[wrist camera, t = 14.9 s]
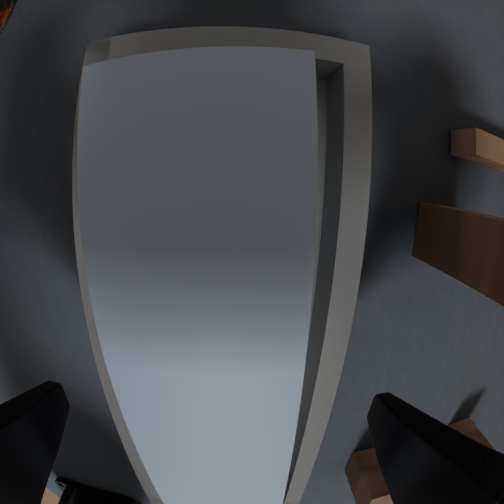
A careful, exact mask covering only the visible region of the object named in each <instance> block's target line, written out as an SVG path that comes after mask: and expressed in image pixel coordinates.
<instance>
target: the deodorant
mask: <svg viewBox="0 0 504 504" xmlns="http://www.w3.org/2000/svg"><path fill="white" fill-rule="evenodd" d="M15 3H16V0H0V32H1V31H2V29H3V28H4V26H5V24H6V22H7V20H8V18H9V17H10V15H11V13H12V10H13V8H14V5H15Z"/></svg>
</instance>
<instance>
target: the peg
mask: <svg viewBox="0 0 504 504" xmlns="http://www.w3.org/2000/svg"><path fill="white" fill-rule="evenodd" d="M317 175H318V126H317V87H316V65H315V51H310V50H301V49H290V48H277V47H254V46H222V47H199V48H185V49H175V50H166V51H158V52H150V53H144V54H137V55H132V56H126V57H121V58H116V59H111V60H106V61H102V62H98V63H94V64H90V65H86V66H83V73H82V81H81V90H80V100H79V113H78V130H77V191H78V209H79V222H80V233H81V242H82V250H83V258H84V265H85V272H86V278H87V284H88V290H89V295H90V301H91V306H92V310H93V315H94V320H95V324H96V328H97V333H98V337H99V341H100V345H101V349H102V352H103V356H104V359H105V363H106V366H107V370H108V373H109V376H110V380H111V383H112V386H113V389H114V392H115V395H116V398H117V401H118V404H119V406H120V409H121V412H122V415H123V417H124V420H125V423H126V425H127V428H128V430H129V433H130V435H131V437H132V440H133V442H134V445H135V447H136V449H137V451H138V454H139V456H140V458H141V460H142V462H143V465H144V467H145V469H146V471H147V473H148V475H149V477H150V479H151V481H152V483H153V485H154V487H155V489H156V491H157V492H158V494H159V496H160V498H161V500H162V502H163V503H164V504H283V500H284V496H285V491H286V486H287V481H288V475H289V470H290V465H291V459H292V453H293V448H294V442H295V435H296V429H297V423H298V416H299V409H300V402H301V395H302V387H303V379H304V371H305V363H306V354H307V344H308V335H309V324H310V313H311V301H312V288H313V274H314V258H315V239H316V216H317Z"/></svg>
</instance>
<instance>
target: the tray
mask: <svg viewBox="0 0 504 504" xmlns="http://www.w3.org/2000/svg"><path fill="white" fill-rule="evenodd" d="M222 46H254V47H277V48H290V49H301V50H310V51H315V65H316V87H317V126H318V175H317V216H316V239H315V258H314V274H313V288H312V301H311V313H310V324H309V335H308V344H307V354H306V363H305V371H304V379H303V387H302V395H301V402H300V409H299V416H298V423H297V429H296V435H295V442H294V448H293V453H292V459H291V465H290V470H289V475H288V481H287V486H286V491H285V496H284V500H283V504H299V502H300V500H301V497H302V495H303V492H304V490H305V487H306V484H307V482H308V479H309V477H310V474H311V471H312V468H313V466H314V463H315V460H316V457H317V454H318V451H319V448H320V445H321V442H322V439H323V436H324V433H325V430H326V427H327V423H328V420H329V417H330V413H331V410H332V406H333V403H334V399H335V395H336V392H337V388H338V384H339V380H340V376H341V372H342V368H343V364H344V360H345V355H346V351H347V346H348V342H349V337H350V332H351V327H352V322H353V317H354V312H355V306H356V300H357V295H358V288H359V282H360V276H361V269H362V262H363V254H364V246H365V238H366V229H367V219H368V208H369V195H370V180H371V160H372V81H371V62H370V48H369V45H365V44H361V43H357V42H353V41H349V40H344V39H340V38H335V37H330V36H324V35H318V34H312V33H306V32H299V31H291V30H282V29H272V28H259V27H237V26H204V27H183V28H170V29H160V30H151V31H144V32H137V33H130V34H124V35H119V36H114V37H109V38H104V39H99V40H95V41H91V42H87V46H86V50H85V55H84V60H83V66H86V65H90V64H94V63H98V62H102V61H106V60H111V59H116V58H121V57H126V56H132V55H137V54H144V53H150V52H158V51H166V50H175V49H185V48H199V47H222ZM83 66H82V71H81V77H80V84H79V90H78V98H77V106H76V115H75V126H74V140H73V162H72V202H73V224H74V238H75V250H76V259H77V268H78V276H79V283H80V290H81V296H82V302H83V308H84V313H85V318H86V323H87V328H88V333H89V337H90V342H91V346H92V350H93V354H94V358H95V362H96V366H97V369H98V373H99V377H100V380H101V383H102V387H103V390H104V393H105V396H106V400H107V403H108V406H109V409H110V411H111V414H112V417H113V420H114V423H115V425H116V428H117V431H118V433H119V436H120V438H121V441H122V443H123V446H124V448H125V451H126V453H127V455H128V458H129V460H130V462H131V464H132V467H133V469H134V471H135V473H136V475H137V477H138V479H139V481H140V483H141V485H142V487H143V489H144V491H145V493H146V495H147V497H148V499H149V501H150V503H152V504H164V503H163V502H162V500H161V498H160V496H159V494H158V492H157V491H156V489H155V487H154V485H153V483H152V481H151V479H150V477H149V475H148V473H147V471H146V469H145V467H144V465H143V462H142V460H141V458H140V456H139V454H138V451H137V449H136V447H135V445H134V442H133V440H132V437H131V435H130V433H129V430H128V428H127V425H126V423H125V420H124V417H123V415H122V412H121V409H120V406H119V404H118V401H117V398H116V395H115V392H114V389H113V386H112V383H111V380H110V376H109V373H108V370H107V366H106V363H105V359H104V356H103V352H102V349H101V345H100V341H99V337H98V333H97V328H96V324H95V320H94V315H93V310H92V306H91V301H90V295H89V290H88V284H87V278H86V272H85V265H84V258H83V250H82V242H81V233H80V222H79V209H78V191H77V130H78V113H79V100H80V90H81V81H82V73H83Z"/></svg>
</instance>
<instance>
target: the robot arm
mask: <svg viewBox="0 0 504 504" xmlns="http://www.w3.org/2000/svg"><path fill="white" fill-rule="evenodd" d="M68 413H69V402H68V400H67V397H66V395H65V392H64V390H63V387H62V385H61V384H60V383H57V382H53V381H47V382H45V383H43V384H41V385H39V386H37V387H35V388H33V389H31V390H29V391H27V392H25V393H23V394H21V395H19V396H17V397H15V398H13V399H11V400H9V401H7V402H4V403H2V404H0V504H41V500H42V497H43V494H44V490H45V488H46V484H47V481H48V478H49V475H50V472H51V470H52V467H53V464H54V461H55V458H56V456H57V453H58V450H59V446H60V443H61V439H62V435H63V431H64V427H65V424H66V420H67V416H68ZM367 420H368V425H369V428H370V432H371V436H372V440H373V444H374V448H375V453H376V457H377V460H378V463H379V466H380V469H381V472H382V474H383V477H384V480H385V483H386V485H387V488H388V491H389V493H390V496H391V499H392V502H393V504H504V454H502V453H500V452H498V451H496V450H494V449H491V448H489V447H487V446H485V445H483V444H482V443H479V442H477V441H476V440H474V439H472V438H470V437H468V436H466V435H464V434H462V433H460V432H458V431H457V430H455V429H453V428H451V427H449V426H447V425H446V424H444V423H442V422H440V421H438V420H436V419H435V418H433V417H431V416H429V415H428V414H426V413H424V412H422V411H420V410H419V409H417V408H415V407H413V406H412V405H410V404H408V403H406V402H405V401H403V400H401V399H400V398H398V397H396V396H395V395H393V394H391V393H389V392H386V393H380V394H377V395H375V397H374V399H373V401H372V404H371V407H370V409H369V412H368V416H367ZM55 483H56V484H57V485H58V487H59V488H60V489H61V490H62V491H63V493H62V495H61V498H60V501H59V503H58V504H136V503H135V502H134V501H133V500H131V499H129V498H125V497H121V496H117V495H113V494H109V493H105V492H101V491H98V490H94V489H91V488H88V487H84V486H81V485H78V484H75V483H72V482H69V481H66V480H64V479H61V478H56V480H55Z"/></svg>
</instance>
